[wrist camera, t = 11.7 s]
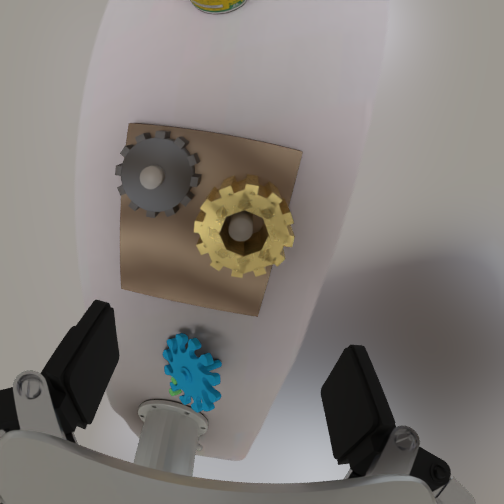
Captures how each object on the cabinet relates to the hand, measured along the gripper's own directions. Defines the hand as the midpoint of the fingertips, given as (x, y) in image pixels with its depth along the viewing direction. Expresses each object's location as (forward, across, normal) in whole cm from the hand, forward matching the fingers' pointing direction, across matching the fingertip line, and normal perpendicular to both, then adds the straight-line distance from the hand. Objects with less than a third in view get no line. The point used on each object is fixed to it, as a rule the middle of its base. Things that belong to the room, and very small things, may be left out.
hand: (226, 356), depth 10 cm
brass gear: (+16, 0, -1) cm, 16 cm away
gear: (+17, +3, +19) cm, 26 cm away
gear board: (+17, +4, +1) cm, 17 cm away
